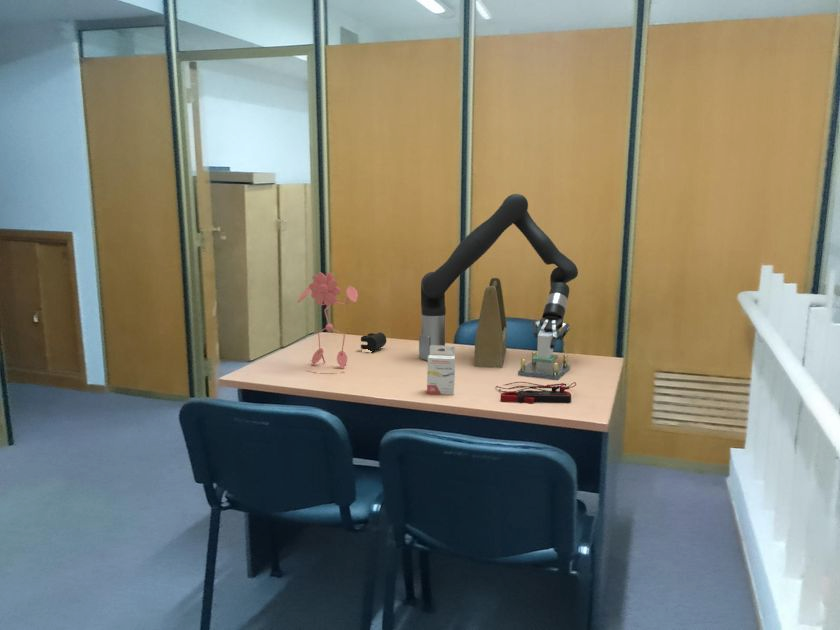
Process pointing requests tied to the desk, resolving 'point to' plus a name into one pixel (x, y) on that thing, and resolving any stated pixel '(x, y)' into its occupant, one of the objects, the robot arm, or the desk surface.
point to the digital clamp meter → (537, 394)
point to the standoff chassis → (544, 368)
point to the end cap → (373, 341)
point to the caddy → (491, 328)
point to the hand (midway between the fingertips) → (545, 346)
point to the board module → (545, 349)
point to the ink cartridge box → (441, 370)
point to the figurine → (326, 293)
